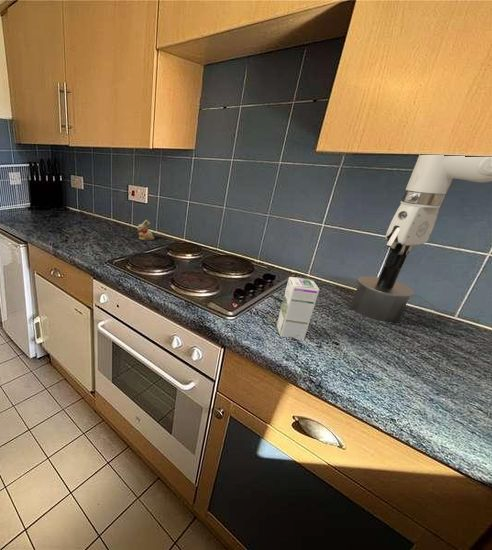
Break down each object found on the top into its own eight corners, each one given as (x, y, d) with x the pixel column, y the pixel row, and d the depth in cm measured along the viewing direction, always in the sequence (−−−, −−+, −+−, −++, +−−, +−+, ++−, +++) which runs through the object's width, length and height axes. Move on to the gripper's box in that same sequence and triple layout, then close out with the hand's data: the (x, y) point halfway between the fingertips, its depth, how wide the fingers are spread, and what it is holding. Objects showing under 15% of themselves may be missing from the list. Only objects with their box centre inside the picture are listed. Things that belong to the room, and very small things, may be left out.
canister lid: (362, 276, 94) (370, 256, 91) (415, 290, 85) (425, 269, 83) (351, 287, 86) (359, 265, 83) (408, 304, 77) (419, 280, 75)
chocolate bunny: (141, 236, 154) (142, 216, 150) (155, 239, 150) (156, 219, 146) (135, 238, 149) (136, 218, 145) (149, 241, 145) (150, 221, 141)
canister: (355, 300, 96) (365, 275, 93) (401, 314, 88) (413, 288, 85) (345, 311, 89) (355, 285, 85) (394, 328, 81) (407, 300, 78)
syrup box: (304, 341, 74) (322, 289, 68) (278, 337, 75) (293, 285, 70) (299, 329, 79) (314, 279, 73) (274, 325, 81) (288, 275, 75)
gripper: (419, 202, 70) (388, 274, 77) (459, 201, 74) (426, 269, 82) (385, 197, 76) (359, 264, 84) (423, 196, 81) (396, 260, 88)
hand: (392, 266), depth 83 cm, fingers closed
